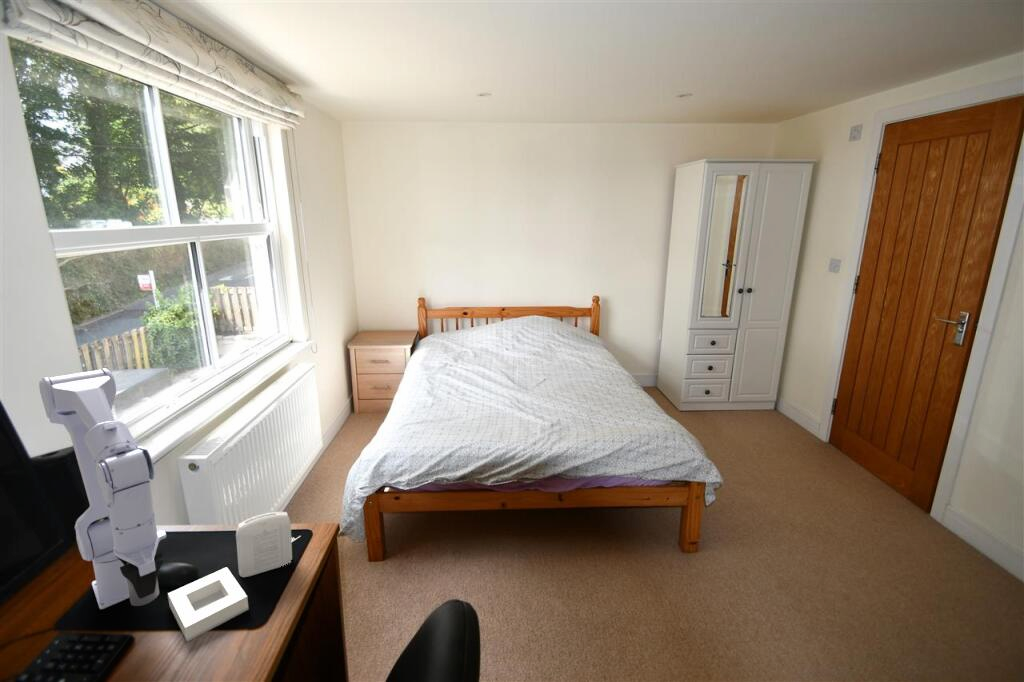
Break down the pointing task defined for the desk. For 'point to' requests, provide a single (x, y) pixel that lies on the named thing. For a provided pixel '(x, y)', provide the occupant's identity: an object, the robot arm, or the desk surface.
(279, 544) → the photo printer
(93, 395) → the robot arm
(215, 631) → the desk surface
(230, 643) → the desk surface
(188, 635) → the housing
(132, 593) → the grey peg
